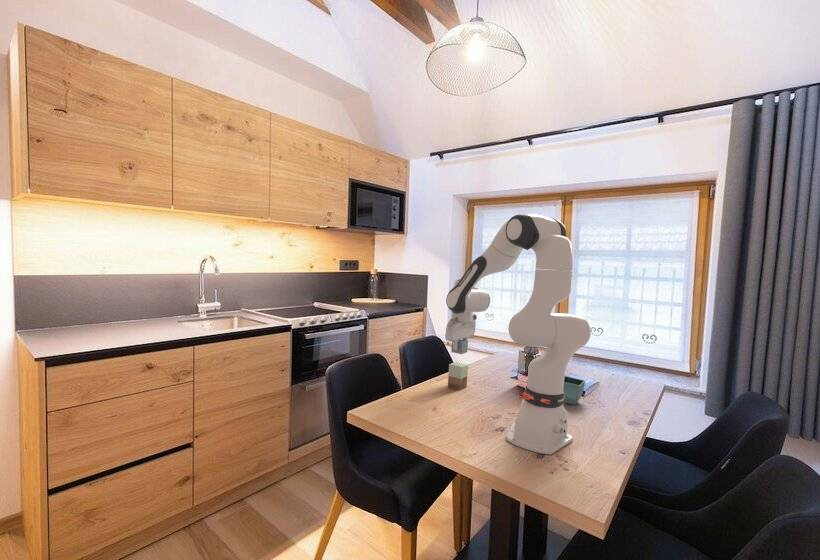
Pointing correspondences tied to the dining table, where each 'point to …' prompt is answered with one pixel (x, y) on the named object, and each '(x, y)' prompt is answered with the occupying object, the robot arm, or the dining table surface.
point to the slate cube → (461, 347)
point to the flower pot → (573, 389)
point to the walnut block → (457, 383)
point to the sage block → (458, 370)
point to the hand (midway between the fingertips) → (459, 348)
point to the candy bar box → (523, 360)
